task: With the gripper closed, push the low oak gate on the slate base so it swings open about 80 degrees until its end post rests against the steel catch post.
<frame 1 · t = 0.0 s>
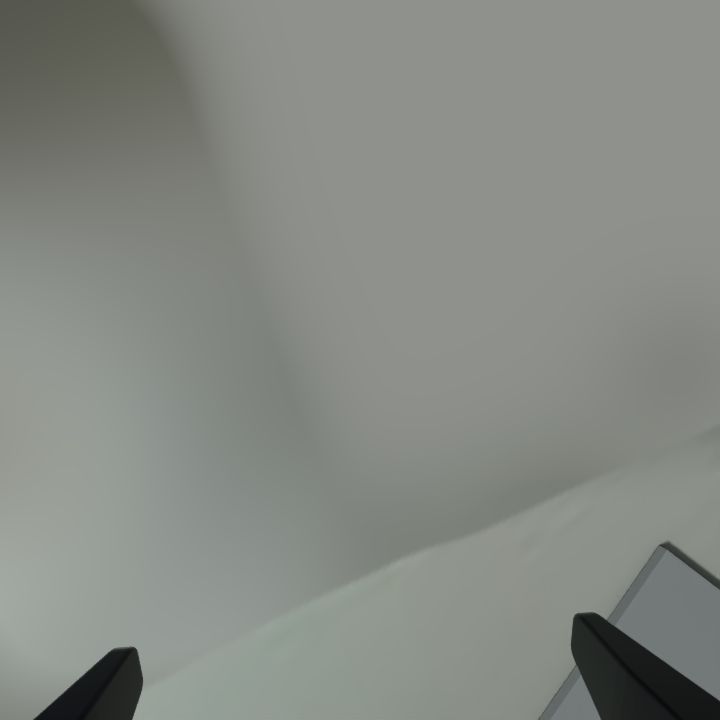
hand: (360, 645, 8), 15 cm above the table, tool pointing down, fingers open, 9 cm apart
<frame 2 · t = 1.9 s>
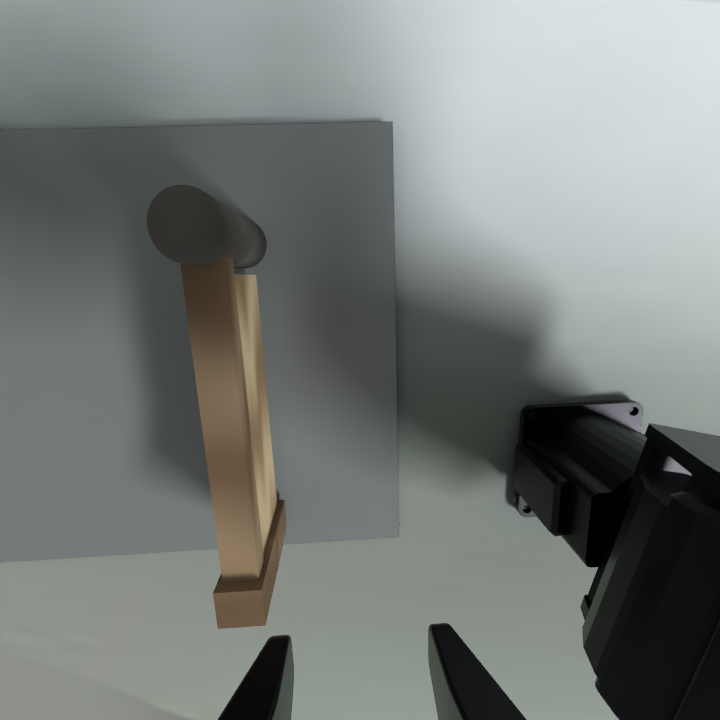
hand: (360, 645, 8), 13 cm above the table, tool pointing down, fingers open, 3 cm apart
gate base: (158, 361, 19), on the table
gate: (239, 408, 16), point 4 cm above the table, hinge at 0.0°
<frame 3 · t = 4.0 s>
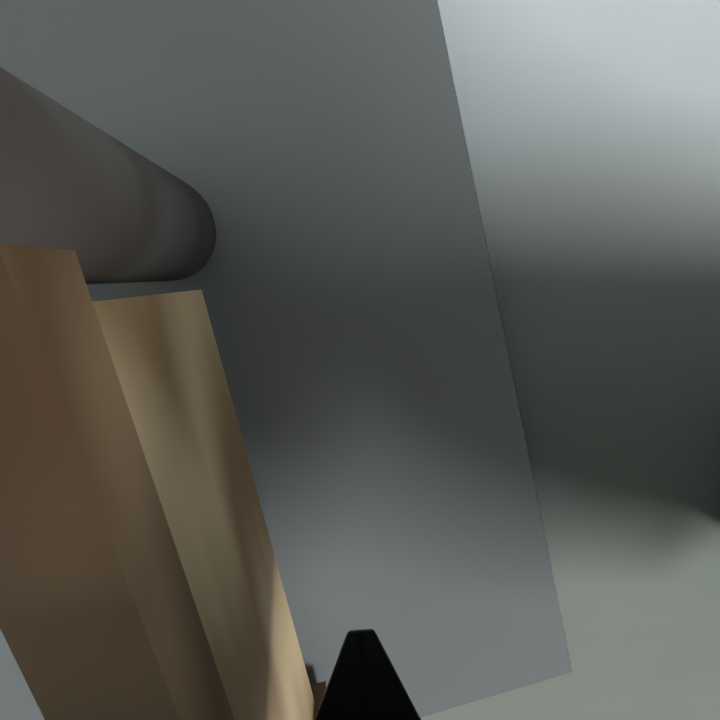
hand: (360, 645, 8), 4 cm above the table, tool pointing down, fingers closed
gate base: (82, 487, 11), on the table
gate: (199, 607, 7), point 4 cm above the table, hinge at -5.6°, touching gripper
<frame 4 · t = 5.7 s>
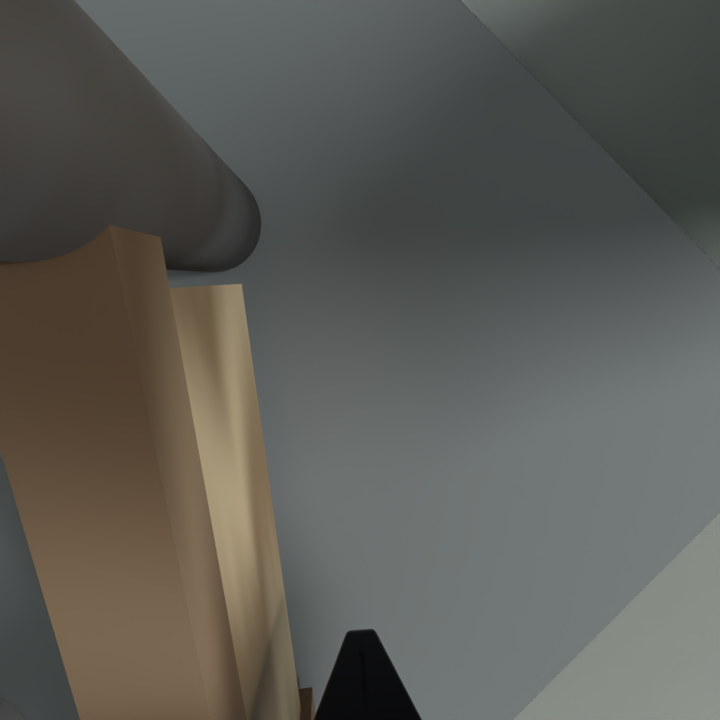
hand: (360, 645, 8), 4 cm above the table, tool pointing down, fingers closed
gate base: (285, 496, 11), on the table
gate: (213, 601, 7), point 4 cm above the table, hinge at -47.4°, touching gripper
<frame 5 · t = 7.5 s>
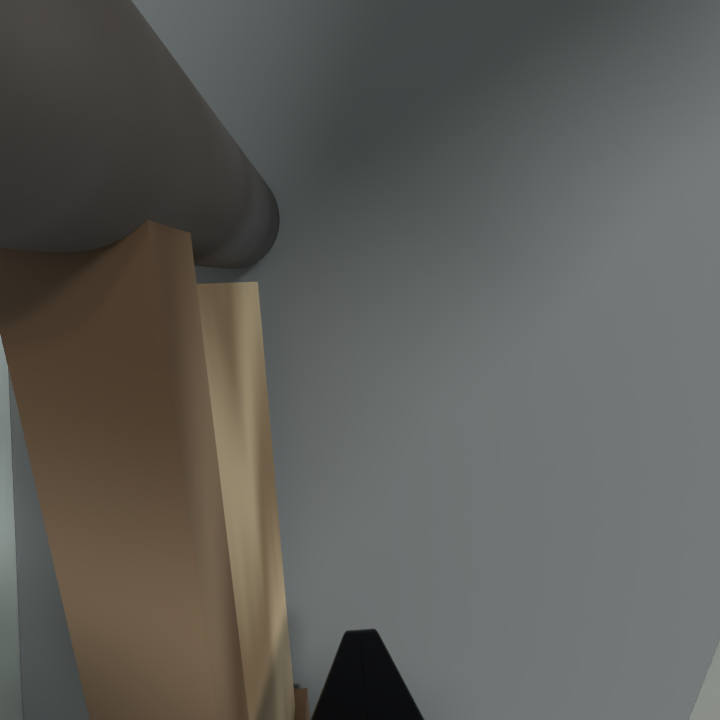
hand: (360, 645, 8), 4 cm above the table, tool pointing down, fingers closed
gate base: (424, 437, 11), on the table
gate: (218, 598, 7), point 4 cm above the table, hinge at -80.0°, touching gripper
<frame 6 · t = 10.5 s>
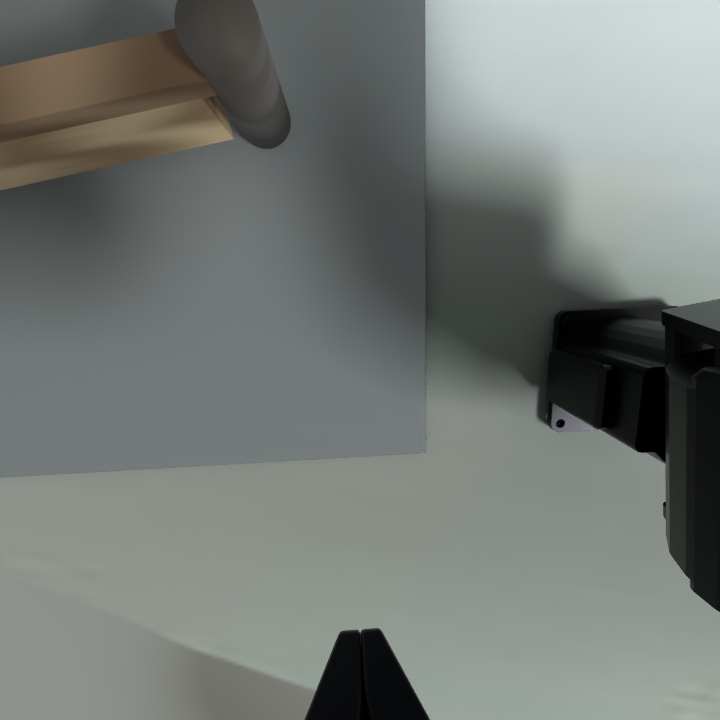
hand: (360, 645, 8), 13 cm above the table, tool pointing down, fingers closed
gate base: (174, 259, 18), on the table
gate: (55, 126, 13), point 4 cm above the table, hinge at -80.1°
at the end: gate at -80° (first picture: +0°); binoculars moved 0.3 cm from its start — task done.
